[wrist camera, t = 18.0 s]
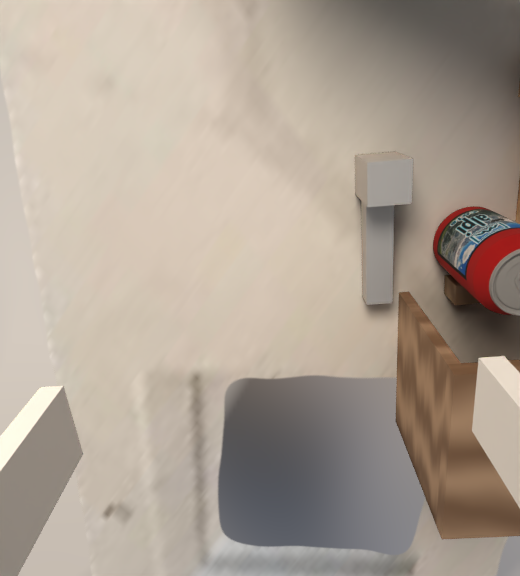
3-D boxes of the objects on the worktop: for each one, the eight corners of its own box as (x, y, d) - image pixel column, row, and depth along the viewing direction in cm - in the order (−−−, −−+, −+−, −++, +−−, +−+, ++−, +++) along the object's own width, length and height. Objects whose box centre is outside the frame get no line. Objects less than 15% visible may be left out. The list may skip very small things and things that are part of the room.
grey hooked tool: (354, 154, 42) (367, 162, 37) (394, 151, 42) (413, 158, 37) (356, 295, 48) (367, 320, 42) (391, 292, 47) (407, 318, 42)
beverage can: (482, 190, 43) (555, 220, 32) (512, 247, 45) (590, 294, 34) (417, 229, 45) (466, 271, 34) (448, 283, 47) (504, 339, 36)
